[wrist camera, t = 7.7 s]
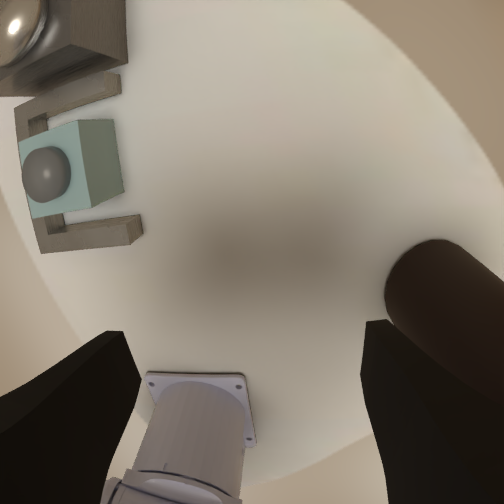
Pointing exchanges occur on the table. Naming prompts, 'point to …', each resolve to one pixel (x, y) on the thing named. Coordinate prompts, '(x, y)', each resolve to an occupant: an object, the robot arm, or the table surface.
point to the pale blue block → (71, 167)
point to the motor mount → (64, 89)
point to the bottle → (452, 313)
